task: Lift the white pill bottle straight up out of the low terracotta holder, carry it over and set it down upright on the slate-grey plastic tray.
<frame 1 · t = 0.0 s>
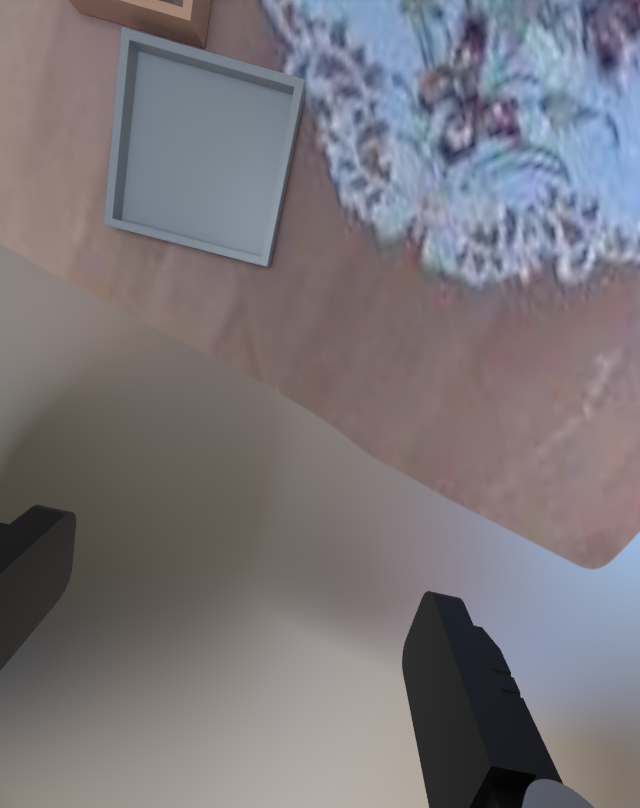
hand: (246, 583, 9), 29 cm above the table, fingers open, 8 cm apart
tray: (207, 162, 33), on the table
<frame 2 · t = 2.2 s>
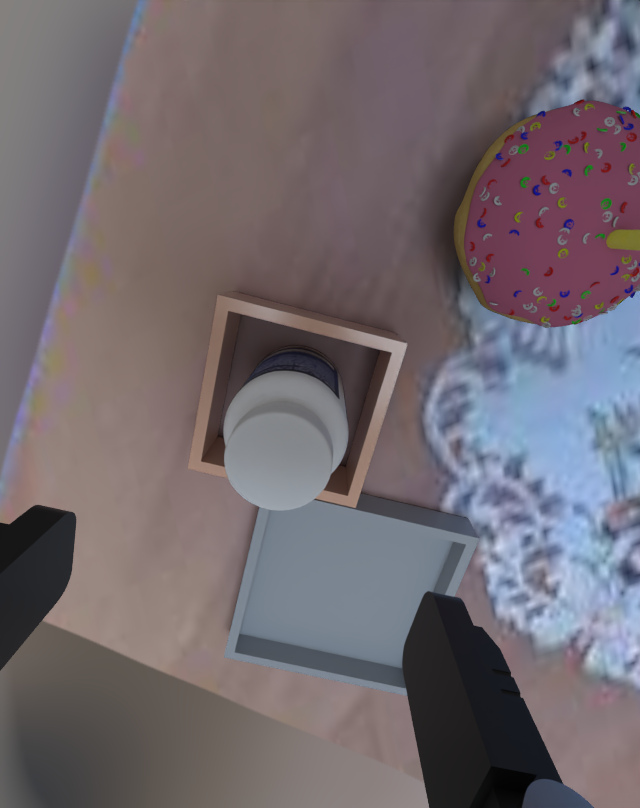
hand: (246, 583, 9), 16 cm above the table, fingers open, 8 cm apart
cupcake: (513, 234, 22), on the table
pill bottle: (297, 389, 25), resting in holder
tray: (342, 578, 28), on the table
holder: (297, 390, 24), on the table
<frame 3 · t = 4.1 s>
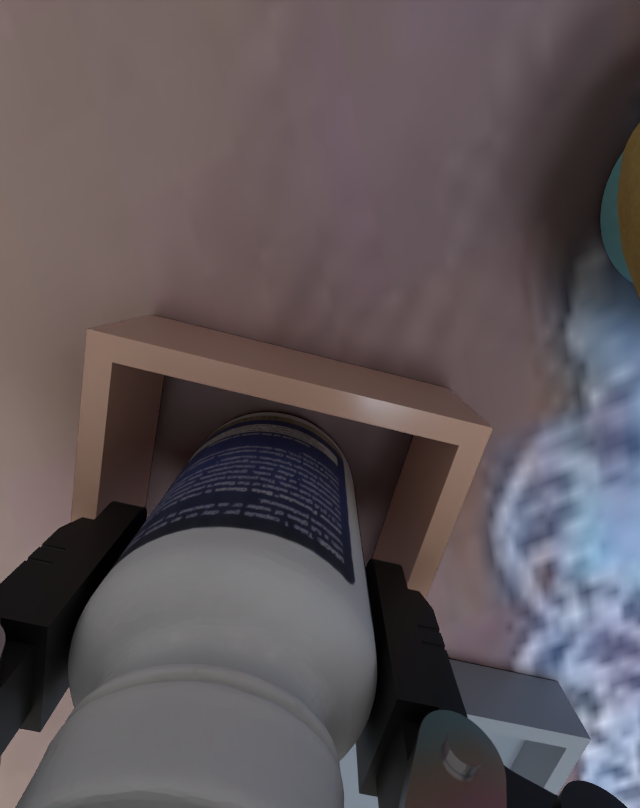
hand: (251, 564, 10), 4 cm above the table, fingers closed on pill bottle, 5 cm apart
pill bottle: (272, 482, 14), resting in holder, touching gripper
tray: (351, 765, 18), on the table
holder: (271, 485, 14), on the table
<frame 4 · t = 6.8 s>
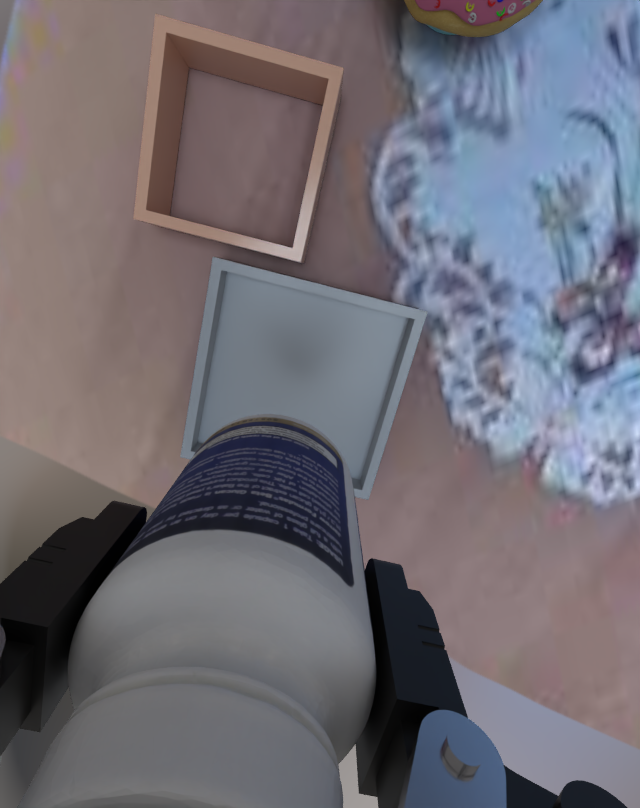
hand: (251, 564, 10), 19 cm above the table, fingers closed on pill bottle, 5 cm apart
pill bottle: (272, 484, 14), point 15 cm above the table, touching gripper
tray: (299, 380, 28), on the table
holder: (245, 164, 25), on the table
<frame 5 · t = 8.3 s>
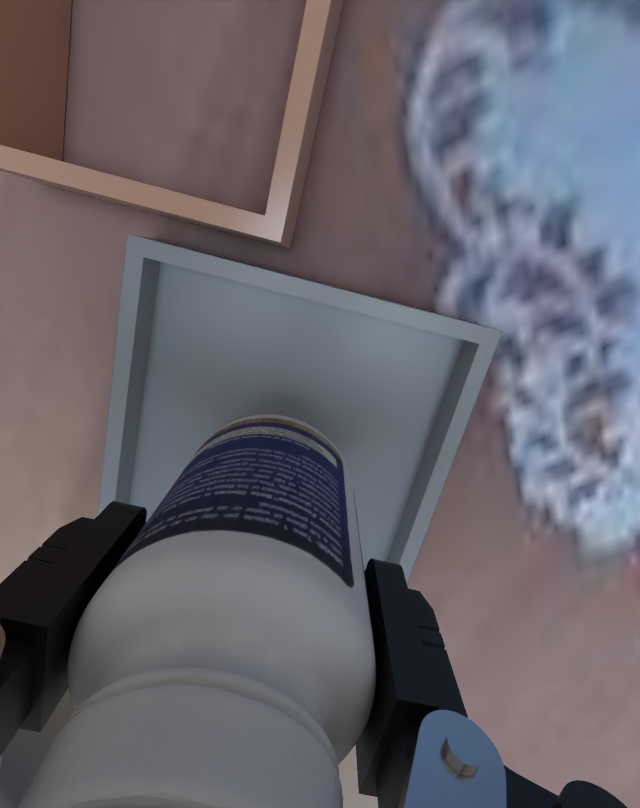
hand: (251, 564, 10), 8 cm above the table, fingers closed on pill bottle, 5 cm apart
pill bottle: (272, 484, 14), point 4 cm above the table, touching gripper
tray: (283, 435, 18), on the table
holder: (188, 73, 14), on the table
when the fingers open (6 cm above the table, at t = 9.7 s): pill bottle drops 1 cm, resting on tray.
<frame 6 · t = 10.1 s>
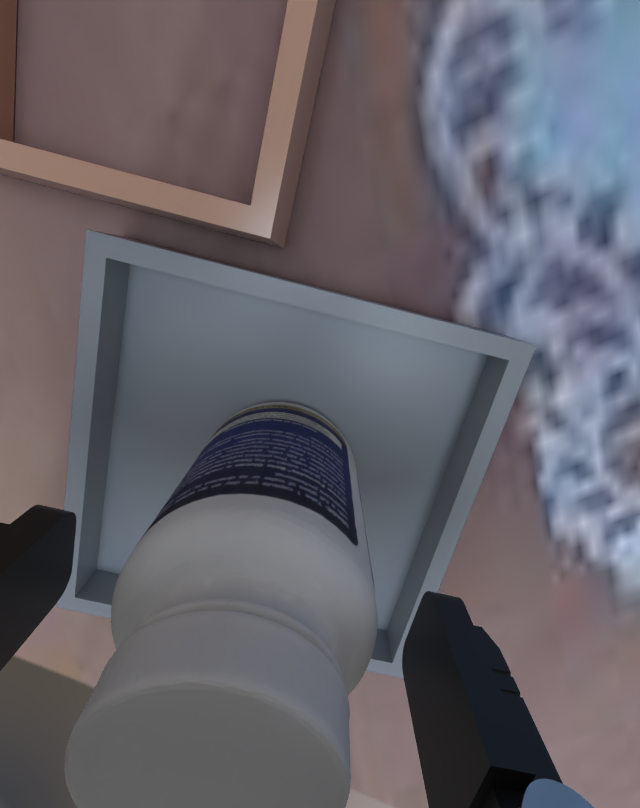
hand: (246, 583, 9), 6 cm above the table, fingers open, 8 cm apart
pill bottle: (280, 468, 15), resting on tray
tray: (277, 463, 16), on the table
holder: (160, 38, 12), on the table
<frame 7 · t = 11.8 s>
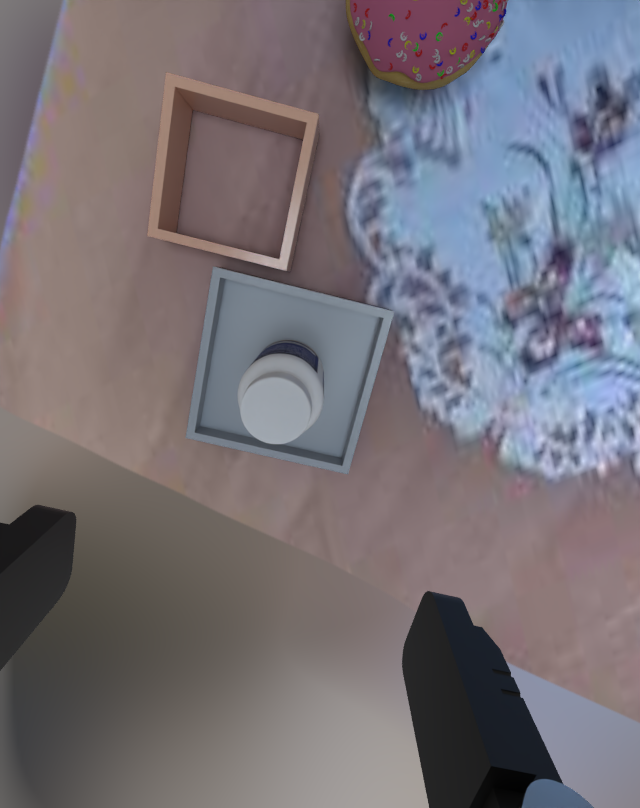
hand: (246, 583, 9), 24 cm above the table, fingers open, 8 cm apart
cupcake: (408, 43, 27), on the table
pill bottle: (289, 372, 33), resting on tray
tray: (287, 371, 33), on the table
holder: (240, 189, 29), on the table
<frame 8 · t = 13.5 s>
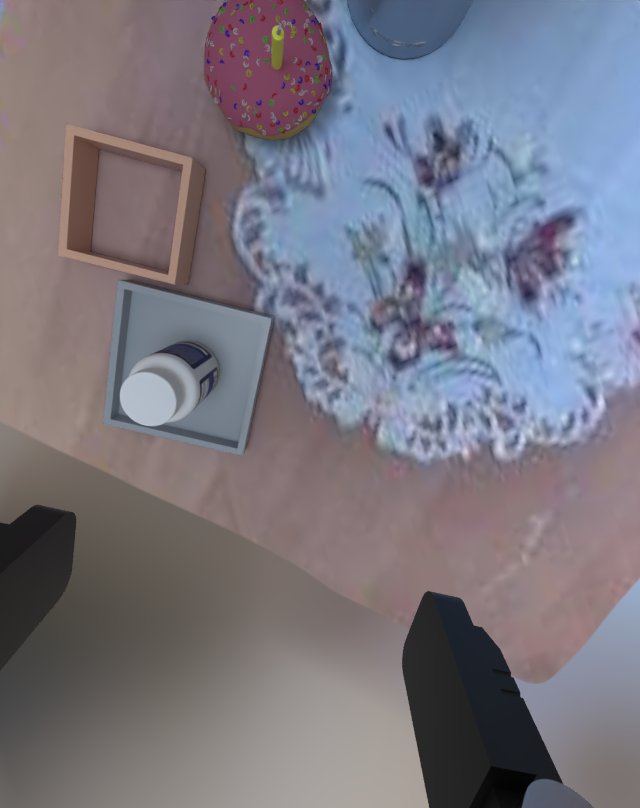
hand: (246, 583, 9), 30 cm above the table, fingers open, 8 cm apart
cupcake: (275, 96, 33), on the table
pill bottle: (191, 369, 38), resting on tray
tray: (191, 368, 39), on the table
holder: (142, 214, 35), on the table
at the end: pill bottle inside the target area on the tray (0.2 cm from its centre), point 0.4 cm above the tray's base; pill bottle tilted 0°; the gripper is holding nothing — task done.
